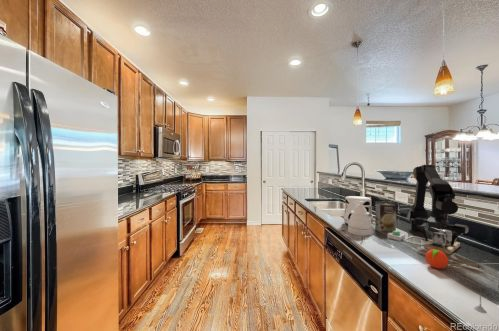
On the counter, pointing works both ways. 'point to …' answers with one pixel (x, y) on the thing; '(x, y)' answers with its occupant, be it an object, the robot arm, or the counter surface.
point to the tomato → (437, 258)
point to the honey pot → (360, 221)
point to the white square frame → (400, 237)
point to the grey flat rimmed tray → (413, 242)
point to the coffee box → (385, 217)
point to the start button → (396, 233)
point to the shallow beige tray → (448, 248)
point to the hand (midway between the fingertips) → (439, 243)
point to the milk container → (353, 202)
